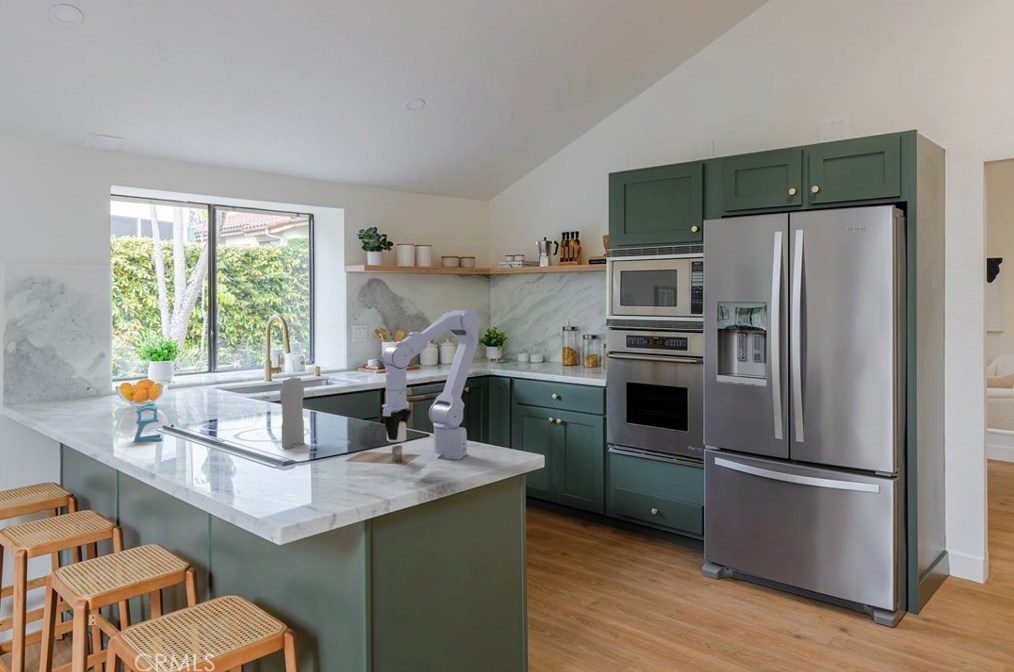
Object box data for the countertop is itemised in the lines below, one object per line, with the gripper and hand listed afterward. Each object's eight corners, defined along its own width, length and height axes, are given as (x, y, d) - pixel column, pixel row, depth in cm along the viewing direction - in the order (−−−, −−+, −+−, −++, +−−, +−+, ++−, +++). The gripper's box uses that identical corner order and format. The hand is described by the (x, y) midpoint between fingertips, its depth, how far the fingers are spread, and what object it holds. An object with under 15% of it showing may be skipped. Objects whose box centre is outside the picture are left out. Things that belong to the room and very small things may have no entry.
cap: (408, 438, 200) (407, 421, 200) (401, 442, 195) (401, 424, 195) (391, 437, 201) (391, 420, 201) (384, 441, 196) (384, 423, 196)
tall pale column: (287, 449, 219) (285, 379, 218) (276, 448, 221) (275, 378, 219) (309, 443, 229) (308, 375, 228) (299, 442, 230) (298, 375, 229)
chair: (135, 438, 236) (133, 403, 236) (162, 436, 240) (161, 401, 239) (133, 443, 229) (132, 406, 229) (162, 440, 233) (160, 404, 232)
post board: (420, 459, 206) (420, 441, 205) (405, 469, 194) (404, 449, 194) (362, 456, 210) (362, 438, 209) (344, 466, 198) (344, 446, 198)
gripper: (392, 385, 205) (393, 432, 206) (372, 392, 191) (372, 442, 192) (415, 386, 204) (415, 433, 205) (396, 393, 190) (397, 443, 191)
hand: (396, 437), depth 198 cm, fingers closed on cap, 5 cm apart
